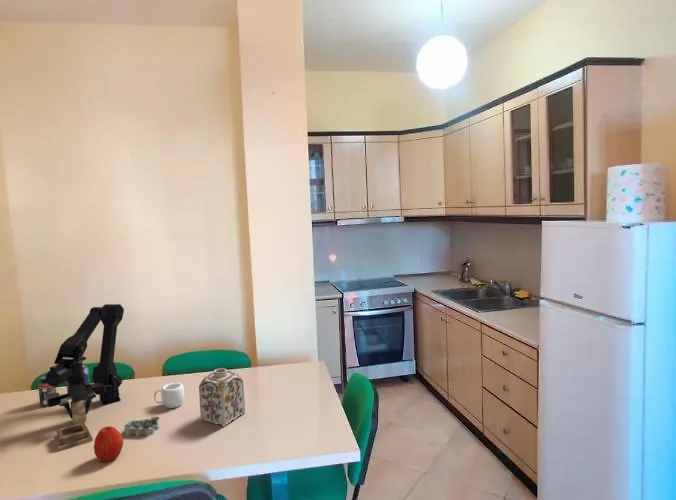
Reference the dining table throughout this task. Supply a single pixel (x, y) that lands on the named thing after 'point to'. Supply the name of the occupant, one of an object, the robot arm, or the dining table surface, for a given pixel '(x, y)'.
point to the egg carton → (141, 426)
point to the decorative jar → (221, 396)
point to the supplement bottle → (45, 391)
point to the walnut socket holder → (72, 436)
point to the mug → (171, 395)
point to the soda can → (86, 374)
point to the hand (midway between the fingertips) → (79, 416)
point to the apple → (108, 444)
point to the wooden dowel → (78, 412)
